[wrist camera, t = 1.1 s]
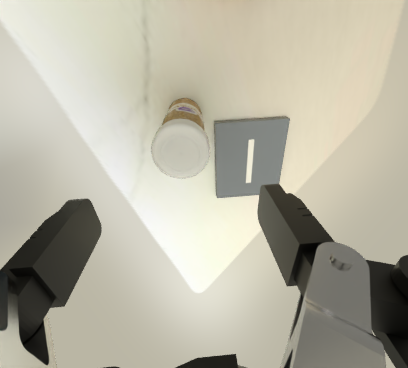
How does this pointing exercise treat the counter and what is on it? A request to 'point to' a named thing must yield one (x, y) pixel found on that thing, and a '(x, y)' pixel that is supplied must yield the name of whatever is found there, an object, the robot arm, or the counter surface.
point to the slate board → (248, 154)
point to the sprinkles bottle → (181, 141)
